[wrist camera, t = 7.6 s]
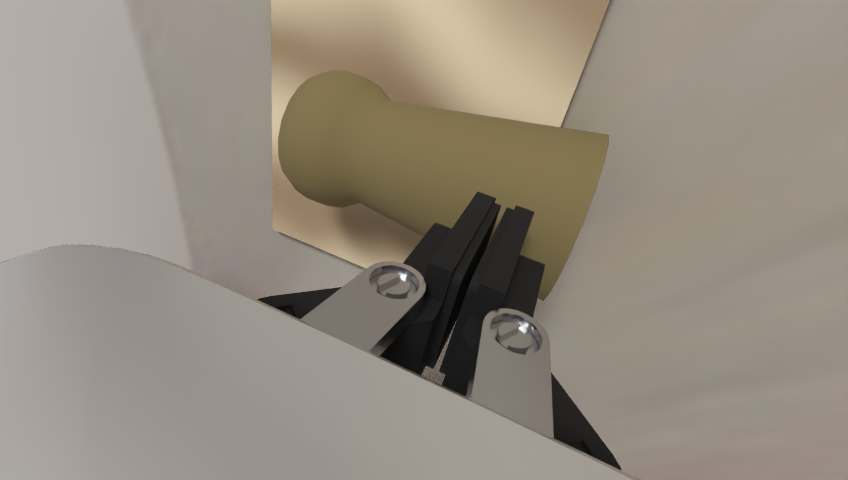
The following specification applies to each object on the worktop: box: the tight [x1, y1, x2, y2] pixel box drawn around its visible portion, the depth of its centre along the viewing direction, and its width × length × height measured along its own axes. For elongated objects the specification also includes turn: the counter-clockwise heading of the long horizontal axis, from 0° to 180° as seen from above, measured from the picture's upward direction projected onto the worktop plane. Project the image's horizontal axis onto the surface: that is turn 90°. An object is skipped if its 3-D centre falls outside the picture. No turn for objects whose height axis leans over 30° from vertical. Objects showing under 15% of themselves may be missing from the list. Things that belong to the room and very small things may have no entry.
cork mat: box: [271, 0, 610, 269], centre depth 18 cm, size 18×13×1 cm
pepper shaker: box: [278, 71, 609, 300], centre depth 16 cm, size 6×6×11 cm
